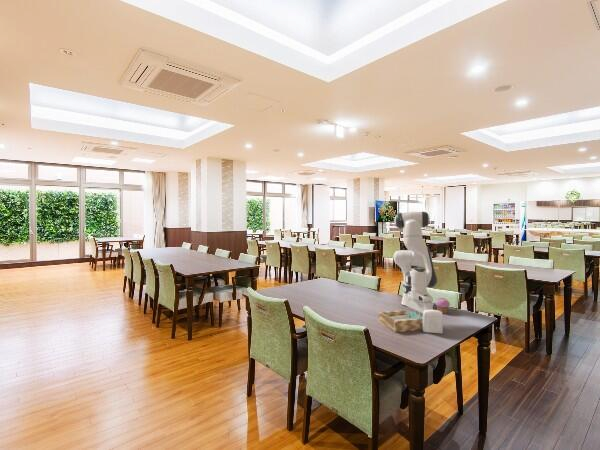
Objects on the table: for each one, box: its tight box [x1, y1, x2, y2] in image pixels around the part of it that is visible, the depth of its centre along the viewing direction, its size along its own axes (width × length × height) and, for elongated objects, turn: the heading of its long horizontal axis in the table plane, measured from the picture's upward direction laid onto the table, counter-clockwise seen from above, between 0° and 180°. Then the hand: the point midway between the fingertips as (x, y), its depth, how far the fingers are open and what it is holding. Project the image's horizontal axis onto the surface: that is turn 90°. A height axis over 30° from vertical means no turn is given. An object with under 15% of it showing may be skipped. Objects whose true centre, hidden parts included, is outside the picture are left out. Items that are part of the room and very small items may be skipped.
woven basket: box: [377, 309, 423, 333], centre depth 184 cm, size 18×18×6 cm
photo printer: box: [422, 309, 444, 335], centre depth 173 cm, size 10×4×12 cm, turn 77°
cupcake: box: [434, 297, 451, 314], centre depth 208 cm, size 9×9×10 cm
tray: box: [389, 310, 423, 321], centre depth 185 cm, size 17×14×4 cm
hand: (418, 318), depth 187 cm, fingers closed
